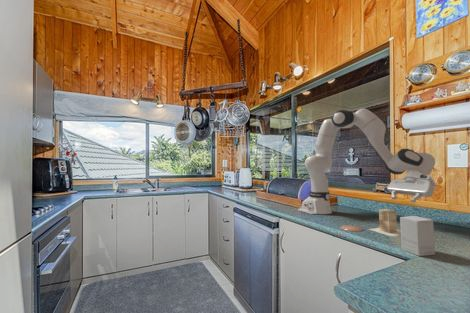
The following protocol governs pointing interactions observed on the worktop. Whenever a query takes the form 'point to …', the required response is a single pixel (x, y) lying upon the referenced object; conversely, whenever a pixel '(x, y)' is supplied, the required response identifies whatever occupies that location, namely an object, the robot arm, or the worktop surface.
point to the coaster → (352, 228)
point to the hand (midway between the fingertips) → (402, 200)
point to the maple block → (388, 220)
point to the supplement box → (417, 235)
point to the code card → (386, 232)
